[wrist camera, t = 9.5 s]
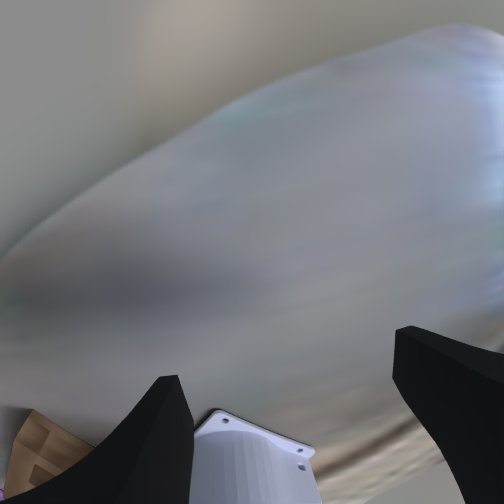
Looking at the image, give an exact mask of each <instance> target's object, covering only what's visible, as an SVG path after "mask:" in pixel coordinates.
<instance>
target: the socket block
mask: <svg viewBox="0 0 504 504" xmlns="http://www.w3.org/2000/svg"><path fill="white" fill-rule="evenodd" d="M93 449H95V448H94V447H93V446H91V445H89V444H87V443H85V442H84V441H82V440H80V439H79V438H77V437H75V436H73V435H72V434H70V433H68V432H67V431H65V430H64V429H62V428H60V427H59V426H57V425H56V424H54V423H53V422H51V421H50V420H48V419H47V418H45V417H44V416H42V415H41V414H39V413H38V412H36V411H35V410H34V409H33V410H32V412H31V413H30V415H29V416H28V418H27V420H26V421H25V423H24V424H23V426H22V428H21V429H20V431H19V432H18V434H17V436H16V437H15V439H14V443H13V447H12V451H11V455H10V460H9V465H8V469H7V474H6V480H5V485H4V491H3V497H2V498H4V499H8V498H10V497H13V496H16V495H18V494H21V493H24V492H26V491H28V490H31V489H33V488H35V487H37V486H39V485H41V484H43V483H45V482H47V481H49V480H50V479H52V478H54V477H56V476H57V475H59V474H61V473H62V472H64V471H65V470H67V469H68V468H70V467H71V466H72V465H74V464H75V463H77V462H78V461H80V460H81V459H82V458H84V457H85V456H86V455H88V454H89V453H90V452H91V451H92V450H93Z"/></svg>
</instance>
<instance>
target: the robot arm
mask: <svg viewBox="0 0 504 504" xmlns="http://www.w3.org/2000/svg"><path fill="white" fill-rule="evenodd" d="M392 378H393V380H394V382H395V384H396V386H397V388H398V390H399V392H400V394H401V395H402V397H403V399H404V401H405V402H406V403H407V405H408V406H409V407H410V409H411V410H412V412H413V413H414V414H415V416H416V417H417V418H418V420H419V421H420V422H421V424H422V425H423V426H424V428H425V429H426V430H427V432H428V433H429V434H430V436H431V437H432V438H433V440H434V441H435V443H436V444H437V446H438V447H439V449H440V450H441V452H442V454H443V456H444V458H445V460H446V461H447V463H448V465H449V467H450V469H451V471H452V473H453V475H454V478H455V480H456V482H457V484H458V486H459V488H460V491H461V493H462V496H463V498H464V501H465V504H504V354H501V353H496V352H492V351H488V350H485V349H481V348H477V347H474V346H471V345H468V344H465V343H462V342H459V341H456V340H453V339H450V338H447V337H444V336H442V335H439V334H436V333H433V332H430V331H428V330H425V329H422V328H418V327H415V326H407V327H404V328H401V329H398V330H396V333H395V350H394V363H393V375H392ZM225 418H226V419H227V420H223V419H225ZM314 453H315V450H314V448H313V447H310V446H307V445H305V444H302V443H299V442H296V441H294V440H291V439H288V438H286V437H283V436H280V435H278V434H275V433H273V432H270V431H268V430H265V429H263V428H261V427H258V426H256V425H254V424H251V423H249V422H247V421H244V420H242V419H240V418H237V417H235V416H233V415H231V414H229V413H227V412H224V411H222V410H217V411H214V412H213V413H212V414H211V415H210V416H209V417H208V418H207V419H206V421H205V422H204V423H203V424H202V425H201V426H200V427H199V428H198V429H197V430H196V431H195V432H194V420H193V418H192V415H191V412H190V410H189V407H188V404H187V401H186V398H185V396H184V393H183V390H182V387H181V384H180V381H179V378H178V375H171V376H162V377H159V378H158V379H157V380H156V381H155V382H154V384H153V385H152V386H151V387H150V389H149V390H148V391H147V392H146V394H145V395H144V396H143V397H142V399H141V400H140V401H139V402H138V404H137V405H136V406H135V407H134V408H133V410H132V411H131V412H130V413H129V414H128V416H127V417H126V418H125V419H124V420H123V421H122V422H121V423H120V424H119V425H118V426H117V427H116V428H115V429H114V431H113V432H112V433H111V434H110V435H109V436H108V437H107V438H106V439H105V440H104V441H103V442H101V443H100V444H99V445H98V446H97V447H96V448H95V449H93V450H92V451H91V452H90V453H89V454H88V455H86V456H85V457H84V458H82V459H81V460H80V461H78V462H77V463H75V464H74V465H72V466H71V467H70V468H68V469H67V470H65V471H64V472H62V473H61V474H59V475H57V476H56V477H54V478H52V479H50V480H49V481H47V482H45V483H43V484H41V485H39V486H37V487H35V488H33V489H31V490H28V491H26V492H24V493H21V494H18V495H16V496H13V497H10V498H8V499H5V500H2V501H0V504H323V503H322V500H321V497H320V494H319V491H318V488H317V484H316V481H315V478H314V475H313V472H312V469H311V465H310V462H309V458H310V457H311V456H312V455H314Z"/></svg>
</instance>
